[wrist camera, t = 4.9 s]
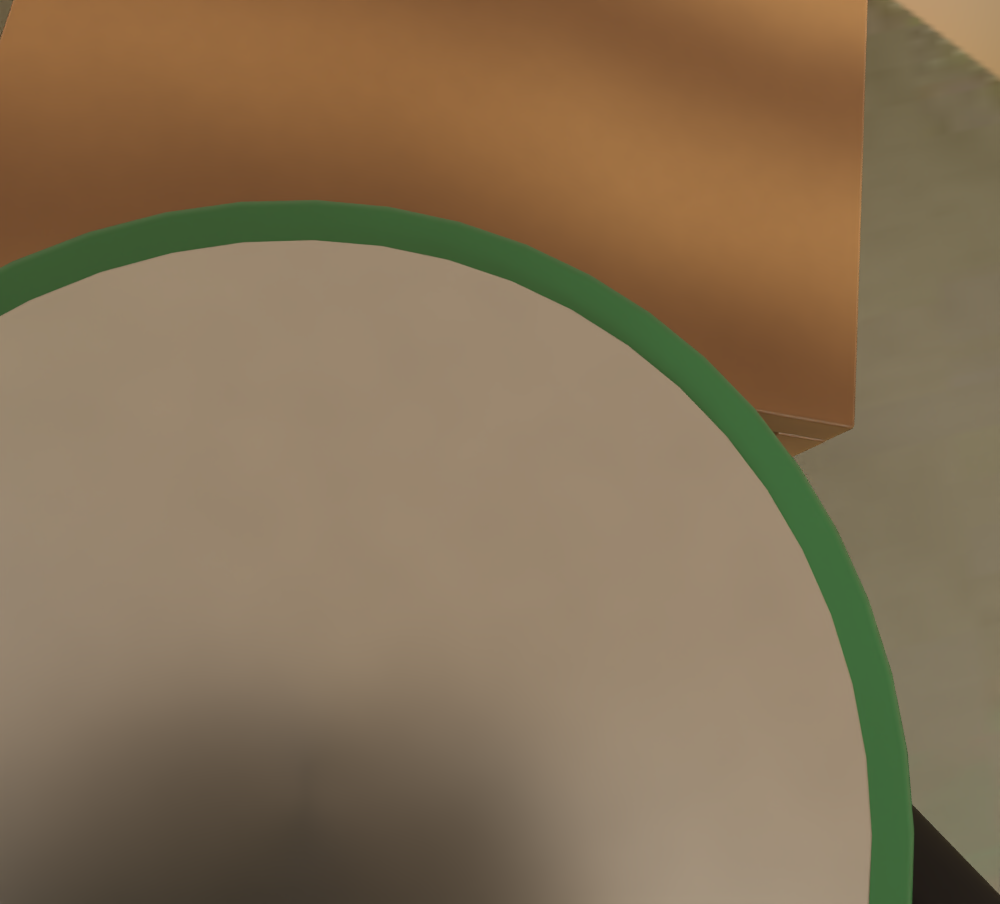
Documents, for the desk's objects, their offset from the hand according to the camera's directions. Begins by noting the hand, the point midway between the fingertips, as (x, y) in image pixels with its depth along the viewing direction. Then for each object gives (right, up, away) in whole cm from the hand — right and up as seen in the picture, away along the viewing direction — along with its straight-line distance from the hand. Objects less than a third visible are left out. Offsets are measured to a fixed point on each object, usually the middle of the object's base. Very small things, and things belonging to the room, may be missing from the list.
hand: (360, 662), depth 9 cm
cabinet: (0, +8, +10) cm, 13 cm away
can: (-1, -2, +6) cm, 7 cm away
